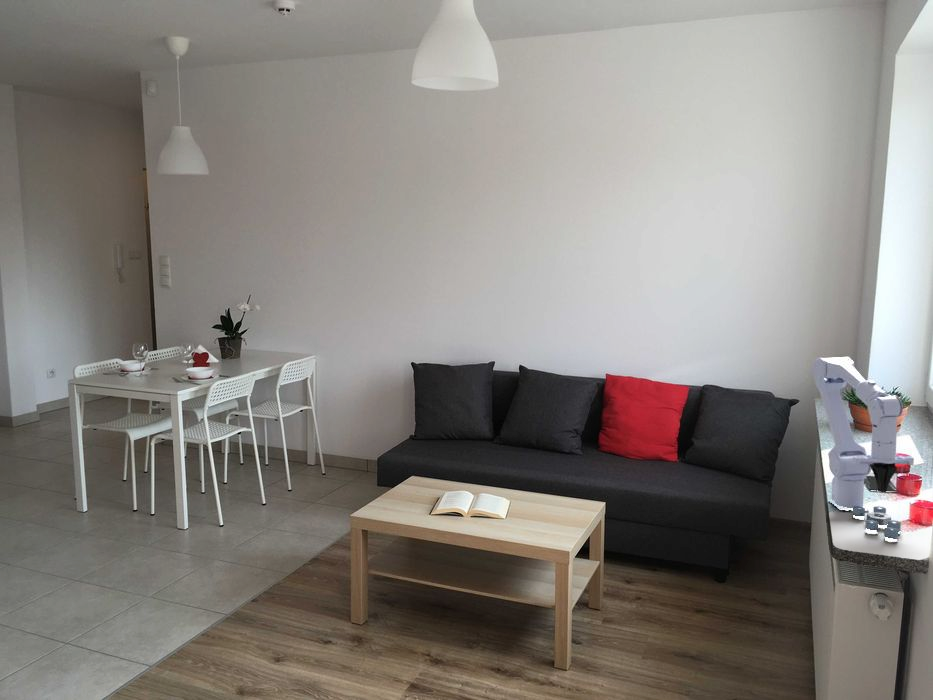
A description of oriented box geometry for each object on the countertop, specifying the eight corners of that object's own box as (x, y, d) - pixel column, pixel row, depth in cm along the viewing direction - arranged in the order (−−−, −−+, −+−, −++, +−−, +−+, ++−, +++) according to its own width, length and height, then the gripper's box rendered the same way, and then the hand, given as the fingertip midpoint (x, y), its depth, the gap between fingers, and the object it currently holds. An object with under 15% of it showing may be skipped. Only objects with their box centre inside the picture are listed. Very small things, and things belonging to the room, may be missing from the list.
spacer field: (846, 516, 211) (847, 506, 211) (882, 516, 210) (883, 506, 210) (876, 542, 192) (877, 531, 192) (916, 543, 191) (917, 531, 191)
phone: (887, 476, 244) (898, 490, 230) (887, 480, 245) (898, 494, 230) (860, 475, 247) (869, 488, 233) (860, 478, 247) (869, 492, 233)
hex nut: (864, 522, 207) (864, 511, 207) (883, 522, 206) (884, 511, 206) (873, 530, 201) (873, 518, 201) (893, 530, 201) (893, 519, 200)
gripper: (861, 444, 199) (859, 495, 200) (920, 444, 197) (917, 495, 199) (850, 438, 206) (849, 487, 207) (907, 438, 204) (905, 487, 206)
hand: (882, 490), depth 204 cm, fingers closed
